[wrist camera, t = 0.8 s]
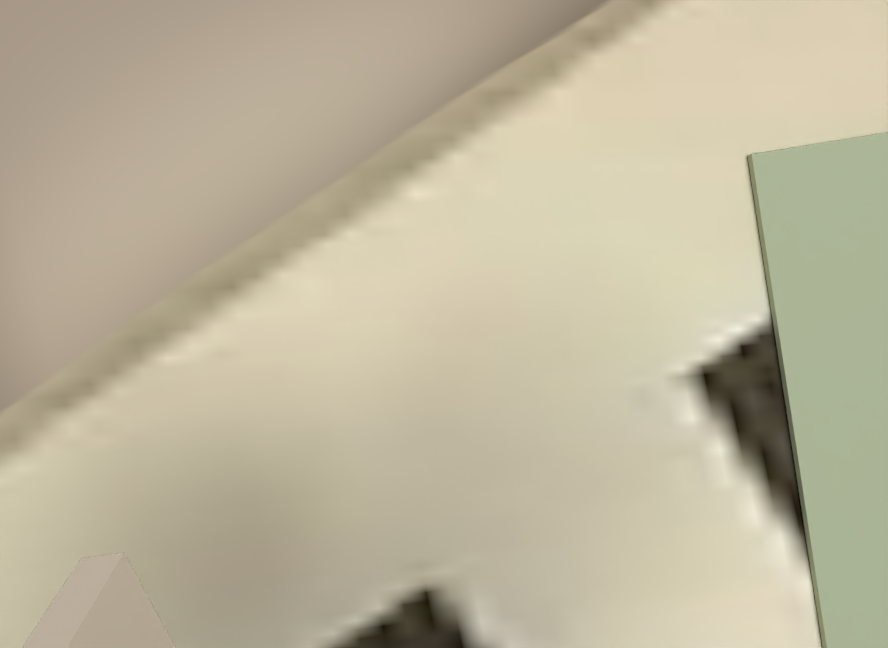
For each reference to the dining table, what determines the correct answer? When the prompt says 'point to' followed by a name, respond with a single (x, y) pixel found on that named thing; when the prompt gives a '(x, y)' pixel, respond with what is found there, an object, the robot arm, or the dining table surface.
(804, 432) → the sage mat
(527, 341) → the dining table surface
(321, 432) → the dining table surface
